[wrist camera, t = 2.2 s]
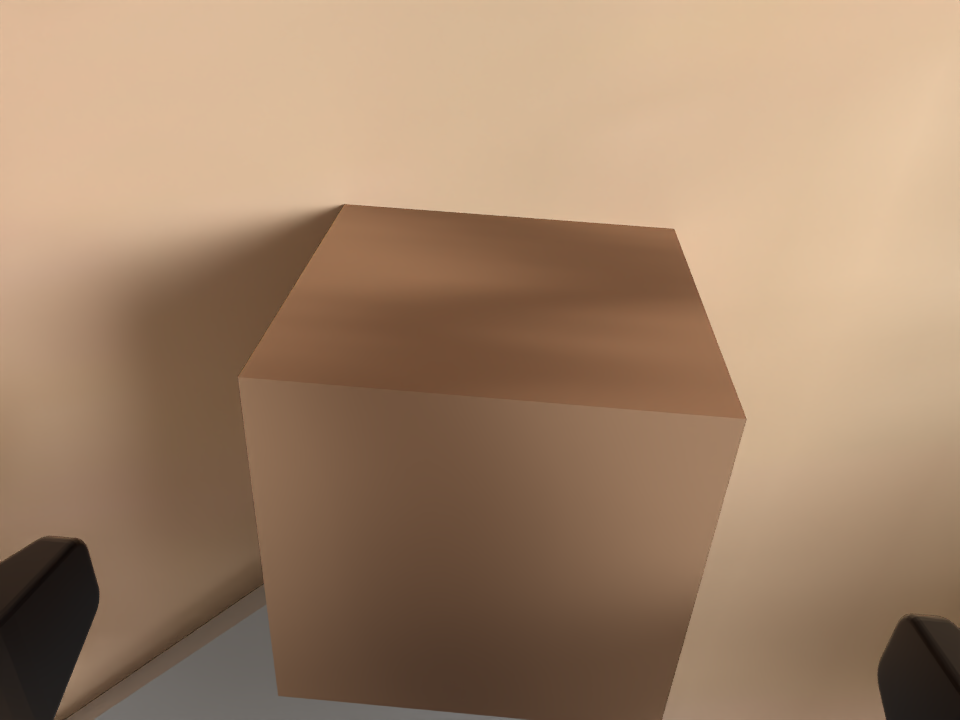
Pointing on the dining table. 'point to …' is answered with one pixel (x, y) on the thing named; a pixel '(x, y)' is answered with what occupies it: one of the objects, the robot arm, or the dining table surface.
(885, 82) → the dining table surface
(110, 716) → the plate
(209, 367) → the dining table surface
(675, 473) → the walnut cube
